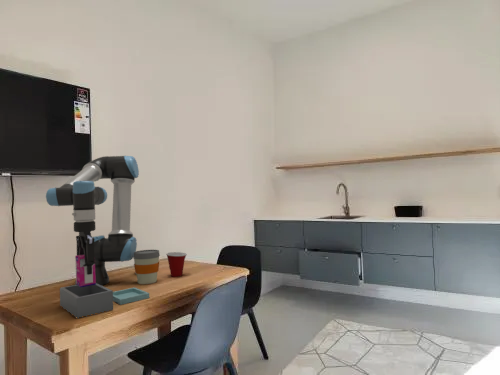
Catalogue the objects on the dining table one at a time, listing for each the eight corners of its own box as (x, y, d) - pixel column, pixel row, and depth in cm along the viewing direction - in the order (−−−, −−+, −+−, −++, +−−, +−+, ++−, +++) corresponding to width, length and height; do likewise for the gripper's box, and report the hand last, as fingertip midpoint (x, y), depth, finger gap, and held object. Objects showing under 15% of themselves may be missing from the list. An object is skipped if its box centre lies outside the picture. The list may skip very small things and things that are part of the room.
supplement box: (75, 285, 130) (74, 255, 130) (92, 282, 134) (91, 253, 134) (79, 287, 125) (78, 257, 126) (96, 284, 129) (95, 254, 129)
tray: (106, 297, 141) (106, 293, 141) (134, 291, 149) (134, 287, 149) (120, 304, 131) (120, 299, 131) (149, 297, 139) (149, 293, 139)
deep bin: (60, 305, 132) (59, 287, 132) (93, 298, 141) (92, 281, 141) (77, 318, 117) (76, 298, 117) (113, 309, 125) (112, 290, 125)
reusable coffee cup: (164, 279, 172) (164, 249, 173) (152, 285, 160) (151, 253, 160) (142, 278, 175) (142, 249, 175) (128, 284, 163) (128, 253, 163)
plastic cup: (185, 277, 173) (184, 254, 174) (164, 278, 174) (163, 254, 174) (189, 273, 184) (188, 251, 185) (169, 273, 185) (169, 251, 185)
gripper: (66, 220, 134) (67, 279, 134) (82, 222, 120) (83, 287, 120) (86, 219, 139) (87, 275, 139) (103, 221, 126) (105, 283, 125)
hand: (85, 281), depth 129 cm, fingers closed on supplement box, 6 cm apart
